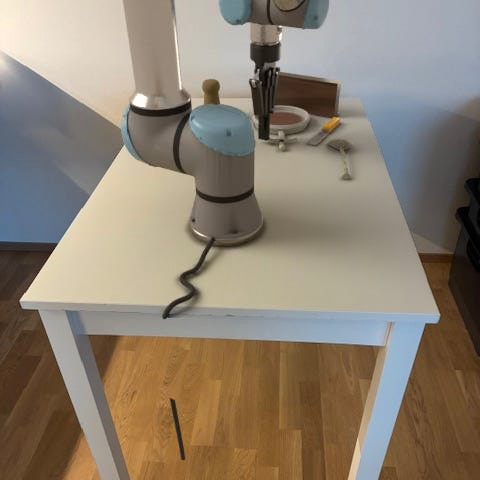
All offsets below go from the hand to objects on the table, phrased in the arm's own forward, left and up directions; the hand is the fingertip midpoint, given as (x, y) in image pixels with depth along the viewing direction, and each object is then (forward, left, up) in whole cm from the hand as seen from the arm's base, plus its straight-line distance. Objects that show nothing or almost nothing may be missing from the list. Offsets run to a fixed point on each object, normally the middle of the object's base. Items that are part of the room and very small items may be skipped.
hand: (263, 138), depth 132 cm
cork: (+10, +22, -2) cm, 25 cm away
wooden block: (+28, 0, -2) cm, 28 cm away
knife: (+15, -12, -2) cm, 19 cm away
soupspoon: (0, -22, -2) cm, 22 cm away
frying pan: (+10, 0, -2) cm, 10 cm away
